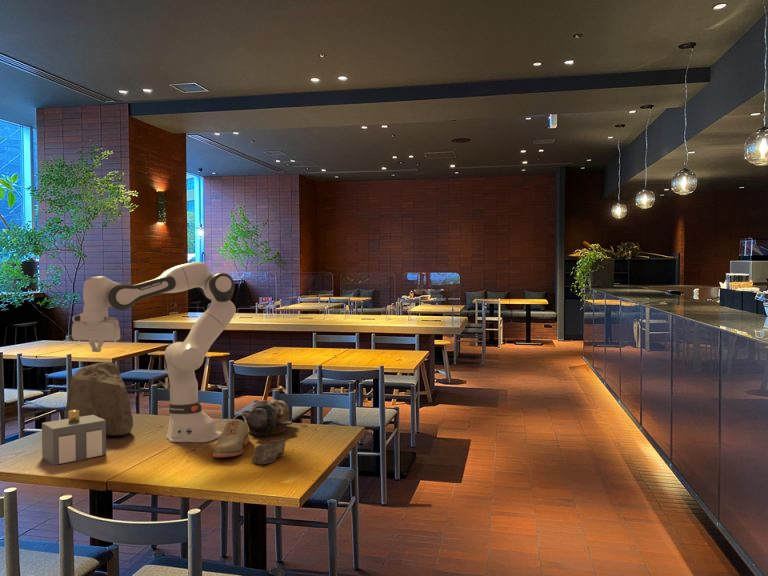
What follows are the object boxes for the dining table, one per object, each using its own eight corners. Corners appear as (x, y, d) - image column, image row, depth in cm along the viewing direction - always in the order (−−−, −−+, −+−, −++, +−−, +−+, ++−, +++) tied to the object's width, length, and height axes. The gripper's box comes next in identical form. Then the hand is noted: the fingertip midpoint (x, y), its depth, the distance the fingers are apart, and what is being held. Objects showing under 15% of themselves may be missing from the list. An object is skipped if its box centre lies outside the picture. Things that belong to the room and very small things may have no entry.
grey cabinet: (106, 454, 224) (105, 420, 224) (53, 465, 212) (52, 429, 211) (93, 447, 233) (93, 414, 233) (42, 457, 221) (41, 422, 221)
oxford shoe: (207, 464, 212) (206, 431, 212) (222, 440, 244) (222, 412, 244) (239, 463, 213) (239, 431, 213) (250, 439, 245) (250, 411, 245)
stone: (89, 422, 276) (88, 357, 275) (157, 425, 269) (157, 359, 269) (49, 436, 251) (48, 365, 251) (123, 440, 245) (122, 367, 244)
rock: (264, 440, 227) (288, 434, 224) (268, 458, 226) (292, 452, 224) (244, 451, 210) (269, 445, 208) (248, 470, 209) (274, 464, 207)
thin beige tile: (75, 460, 216) (75, 434, 216) (59, 463, 212) (59, 437, 212) (64, 453, 225) (64, 428, 225) (48, 456, 221) (48, 431, 221)
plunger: (102, 455, 222) (101, 429, 222) (86, 458, 219) (86, 432, 219) (90, 448, 231) (89, 424, 231) (75, 451, 228) (74, 426, 227)
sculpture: (293, 438, 245) (292, 405, 245) (240, 442, 241) (239, 407, 241) (289, 424, 270) (289, 393, 270) (241, 426, 266) (240, 395, 265)
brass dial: (81, 420, 224) (81, 410, 223) (74, 423, 220) (74, 412, 220) (73, 420, 224) (73, 409, 224) (66, 422, 221) (66, 411, 221)
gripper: (123, 316, 237) (124, 351, 237) (80, 316, 242) (81, 350, 242) (112, 317, 231) (113, 353, 231) (68, 317, 236) (69, 352, 236)
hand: (96, 351), depth 237 cm, fingers closed
